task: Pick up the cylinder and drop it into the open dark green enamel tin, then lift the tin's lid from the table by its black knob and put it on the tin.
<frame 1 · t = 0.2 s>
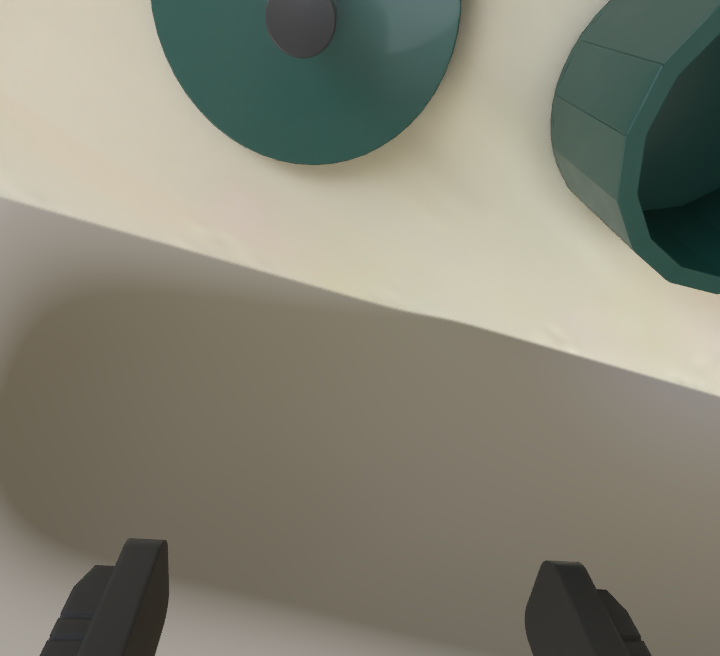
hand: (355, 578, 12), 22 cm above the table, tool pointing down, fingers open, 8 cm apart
tin: (675, 101, 28), on the table
lid: (308, 10, 25), point 1 cm above the table
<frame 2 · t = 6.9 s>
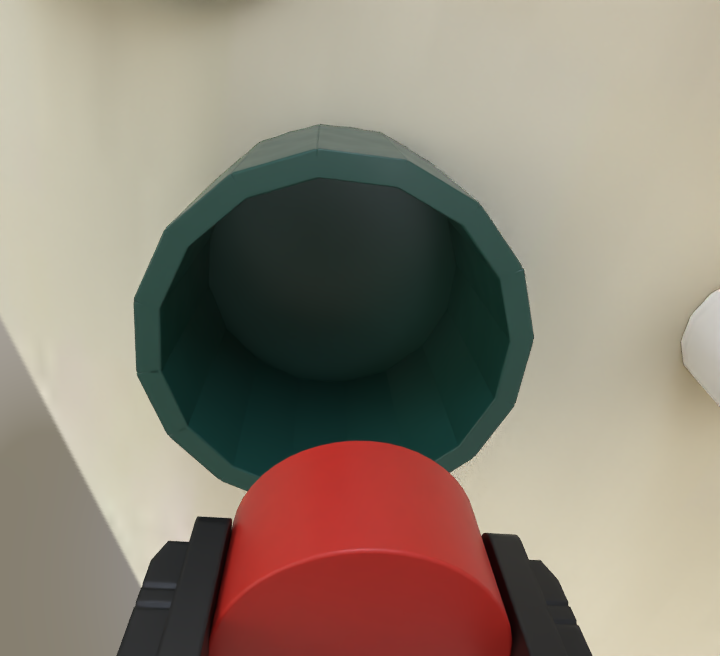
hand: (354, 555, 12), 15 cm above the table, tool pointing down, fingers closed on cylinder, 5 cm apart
tin: (333, 271, 25), on the table
cylinder: (354, 538, 13), point 15 cm above the table, touching gripper
when the fingers open (6 cm above the table, at t = 9.9 s): cylinder drops 5 cm, resting on tin.
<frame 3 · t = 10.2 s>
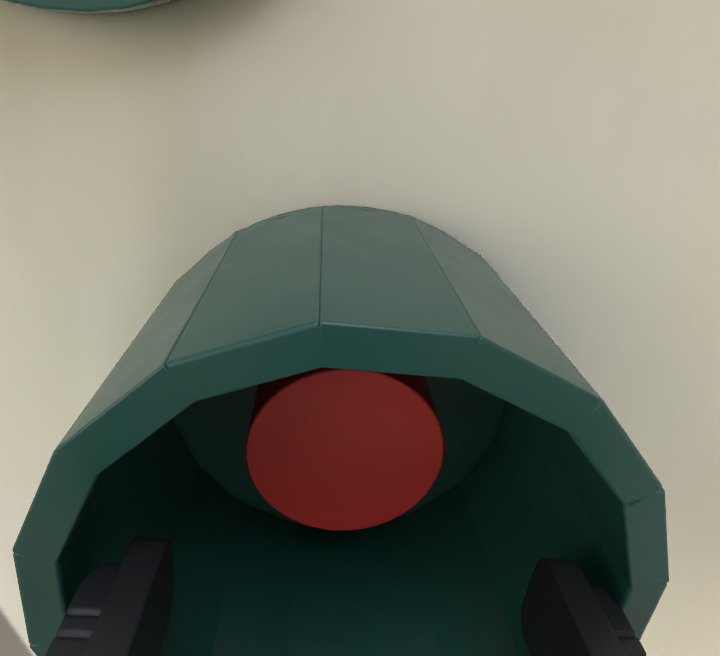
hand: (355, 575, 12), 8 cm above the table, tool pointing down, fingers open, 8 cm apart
tin: (341, 391, 19), on the table
cylinder: (343, 399, 18), point 1 cm above the table, touching tin
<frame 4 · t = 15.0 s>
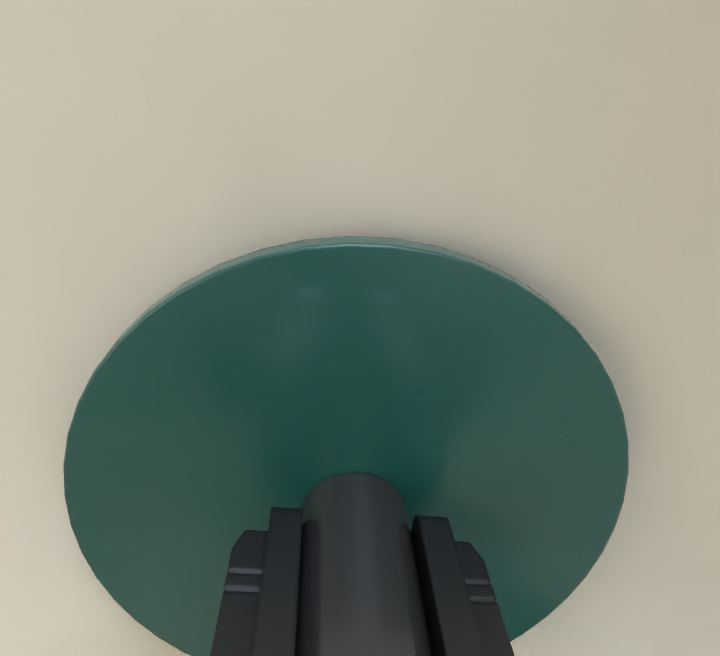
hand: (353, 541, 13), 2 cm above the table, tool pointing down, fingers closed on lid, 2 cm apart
lid: (352, 496, 14), point 1 cm above the table, touching gripper
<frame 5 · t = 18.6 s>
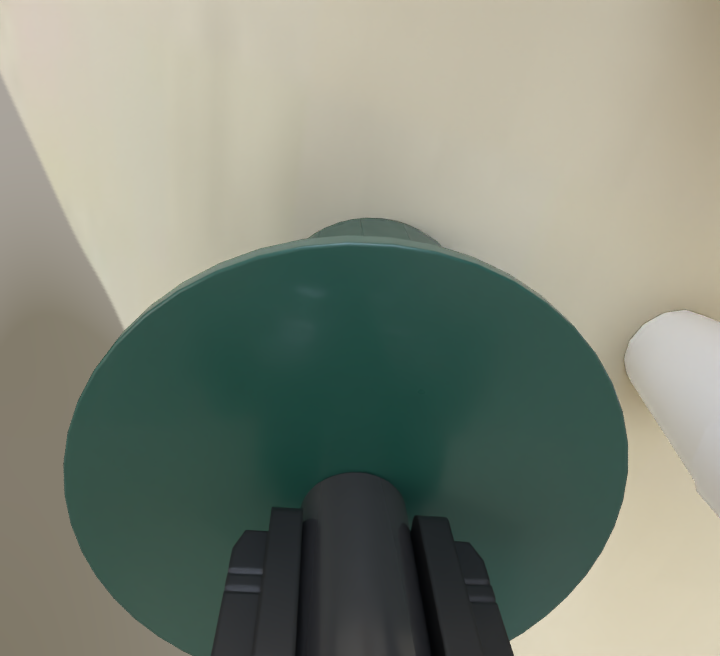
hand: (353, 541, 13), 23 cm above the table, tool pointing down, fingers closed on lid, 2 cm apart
tin: (368, 314, 36), on the table
foam cup: (668, 350, 38), on the table
lid: (351, 495, 14), point 22 cm above the table, touching gripper
when the fingers open (10 cm above the table, at t = 22.2 s): lid stays where it is, resting on tin.
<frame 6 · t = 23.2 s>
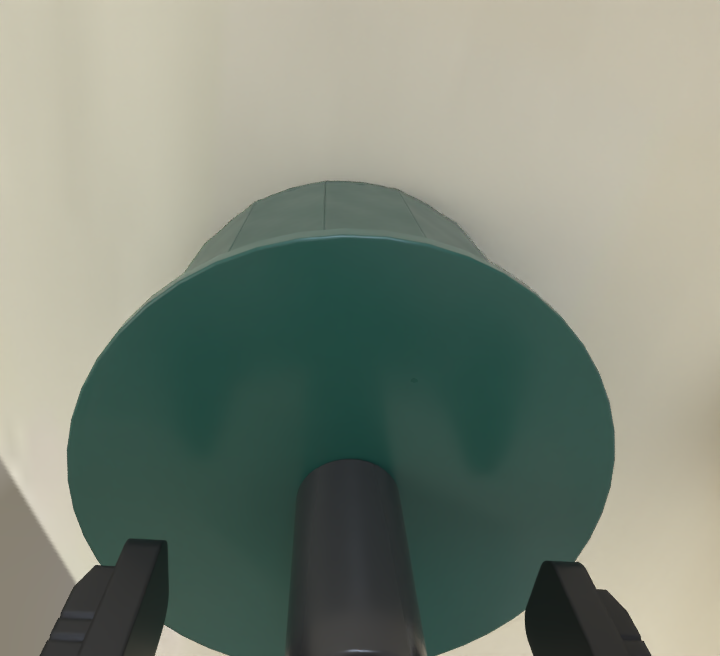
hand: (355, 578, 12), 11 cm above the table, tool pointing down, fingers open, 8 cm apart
tin: (341, 340, 22), on the table
lid: (347, 482, 15), point 8 cm above the table, touching tin
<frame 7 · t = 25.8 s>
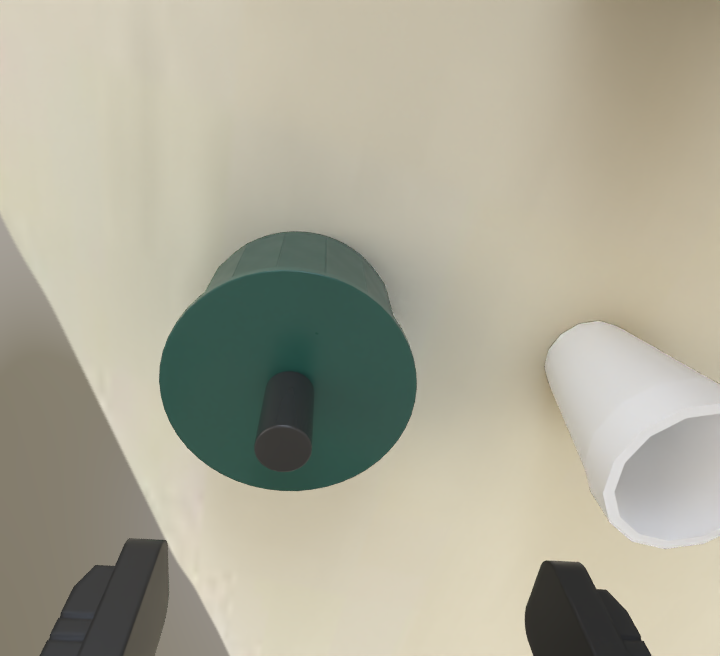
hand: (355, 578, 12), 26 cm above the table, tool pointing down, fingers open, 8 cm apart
tin: (298, 321, 38), on the table
foam cup: (586, 359, 40), on the table
lid: (290, 385, 30), point 8 cm above the table, touching tin
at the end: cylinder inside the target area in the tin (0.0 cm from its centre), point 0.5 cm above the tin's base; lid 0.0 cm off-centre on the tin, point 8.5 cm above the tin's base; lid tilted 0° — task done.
